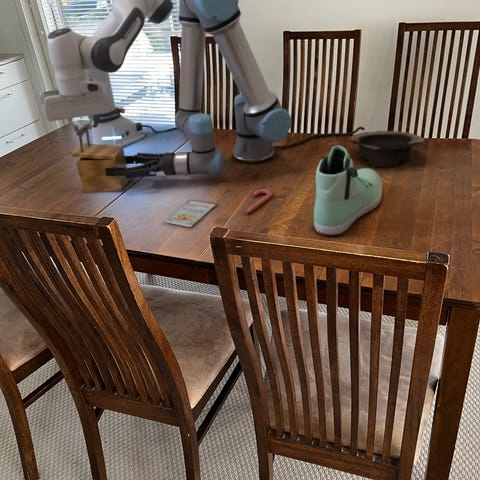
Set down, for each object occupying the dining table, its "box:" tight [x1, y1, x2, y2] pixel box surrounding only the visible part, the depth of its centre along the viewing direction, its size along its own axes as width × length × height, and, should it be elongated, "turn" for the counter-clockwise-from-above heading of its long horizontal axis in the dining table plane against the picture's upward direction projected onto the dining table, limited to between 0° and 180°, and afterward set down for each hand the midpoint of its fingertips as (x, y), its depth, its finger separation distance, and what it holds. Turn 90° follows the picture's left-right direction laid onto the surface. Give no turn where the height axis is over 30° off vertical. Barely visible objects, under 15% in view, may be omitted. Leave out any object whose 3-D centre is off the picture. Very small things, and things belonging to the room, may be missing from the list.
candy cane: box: [245, 188, 273, 215], centre depth 146 cm, size 6×15×2 cm, turn 145°
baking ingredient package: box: [164, 200, 216, 228], centre depth 143 cm, size 9×1×15 cm
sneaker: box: [313, 145, 383, 236], centre depth 133 cm, size 14×35×20 cm, turn 152°
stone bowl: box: [349, 130, 426, 167], centre depth 167 cm, size 25×25×9 cm
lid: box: [71, 123, 124, 160], centre depth 157 cm, size 14×9×8 cm, turn 85°
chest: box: [75, 149, 130, 193], centre depth 162 cm, size 13×9×11 cm
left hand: (83, 129), depth 155 cm, fingers closed on lid, 3 cm apart
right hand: (110, 166), depth 161 cm, fingers closed on chest, 9 cm apart
